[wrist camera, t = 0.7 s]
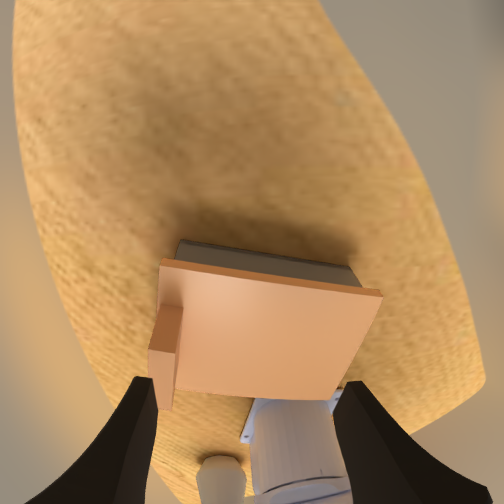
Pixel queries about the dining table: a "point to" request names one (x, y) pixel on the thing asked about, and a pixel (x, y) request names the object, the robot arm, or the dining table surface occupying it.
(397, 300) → the dining table surface
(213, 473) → the salt shaker
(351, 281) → the tub
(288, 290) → the lid
